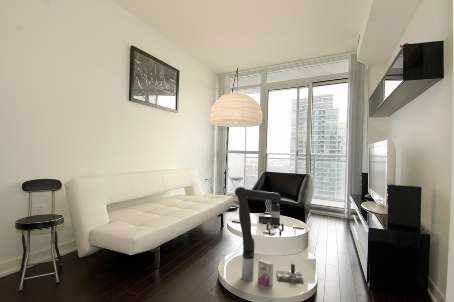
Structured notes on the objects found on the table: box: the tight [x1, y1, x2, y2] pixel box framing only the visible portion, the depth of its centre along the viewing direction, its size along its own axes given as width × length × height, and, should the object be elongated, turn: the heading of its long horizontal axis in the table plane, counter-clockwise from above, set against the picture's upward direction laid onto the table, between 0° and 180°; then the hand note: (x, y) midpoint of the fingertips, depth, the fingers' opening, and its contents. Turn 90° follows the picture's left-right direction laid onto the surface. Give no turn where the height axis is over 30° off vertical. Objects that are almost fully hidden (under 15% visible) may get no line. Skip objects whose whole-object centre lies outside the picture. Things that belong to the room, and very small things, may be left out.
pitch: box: [275, 268, 305, 284], centre depth 199 cm, size 20×16×4 cm
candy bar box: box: [257, 259, 274, 287], centre depth 187 cm, size 11×5×16 cm, turn 44°
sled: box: [288, 263, 296, 277], centre depth 198 cm, size 5×12×11 cm, turn 174°
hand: (274, 235), depth 201 cm, fingers open, 8 cm apart
